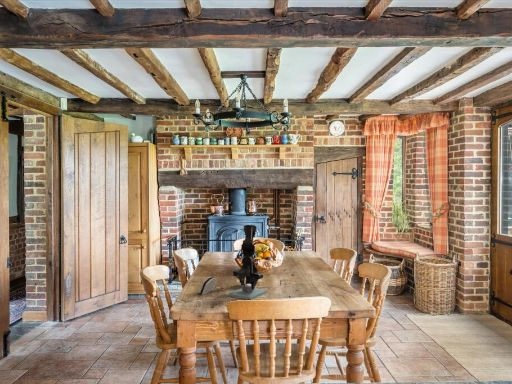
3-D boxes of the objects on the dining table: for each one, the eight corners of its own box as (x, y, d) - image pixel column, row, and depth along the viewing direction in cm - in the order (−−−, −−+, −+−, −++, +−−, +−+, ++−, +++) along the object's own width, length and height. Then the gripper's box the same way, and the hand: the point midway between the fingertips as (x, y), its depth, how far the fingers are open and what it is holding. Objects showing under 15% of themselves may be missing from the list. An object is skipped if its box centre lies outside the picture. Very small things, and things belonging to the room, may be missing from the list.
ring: (246, 288, 253) (246, 283, 252) (256, 289, 249) (256, 284, 249) (239, 290, 247) (239, 285, 246) (249, 292, 243) (249, 287, 243)
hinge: (207, 287, 265) (211, 273, 263) (213, 290, 263) (218, 276, 262) (195, 294, 249) (200, 279, 247) (202, 297, 247) (207, 282, 246)
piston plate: (245, 289, 260) (245, 279, 259) (266, 292, 251) (266, 283, 251) (228, 295, 244) (228, 286, 244) (250, 300, 236) (250, 289, 236)
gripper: (227, 263, 246) (227, 289, 246) (253, 267, 236) (253, 293, 236) (238, 260, 255) (238, 285, 255) (263, 263, 245) (263, 289, 245)
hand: (248, 288), depth 248 cm, fingers closed on ring, 7 cm apart
